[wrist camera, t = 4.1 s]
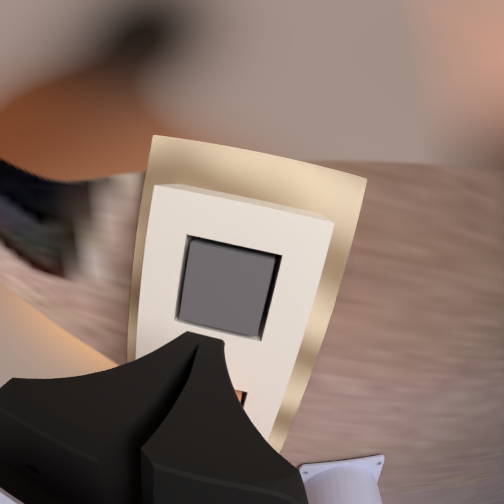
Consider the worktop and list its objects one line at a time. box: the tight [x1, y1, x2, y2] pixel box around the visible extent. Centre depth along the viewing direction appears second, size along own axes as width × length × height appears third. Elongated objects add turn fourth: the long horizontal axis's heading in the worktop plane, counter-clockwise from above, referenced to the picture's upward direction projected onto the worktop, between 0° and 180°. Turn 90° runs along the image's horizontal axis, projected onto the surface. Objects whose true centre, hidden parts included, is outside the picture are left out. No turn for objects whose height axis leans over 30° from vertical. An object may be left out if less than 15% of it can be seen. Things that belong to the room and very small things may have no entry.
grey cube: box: [179, 237, 275, 337], centre depth 17 cm, size 4×4×4 cm
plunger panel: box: [136, 184, 335, 441], centre depth 18 cm, size 17×9×4 cm, turn 168°
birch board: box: [127, 135, 367, 453], centre depth 21 cm, size 22×13×1 cm, turn 168°
